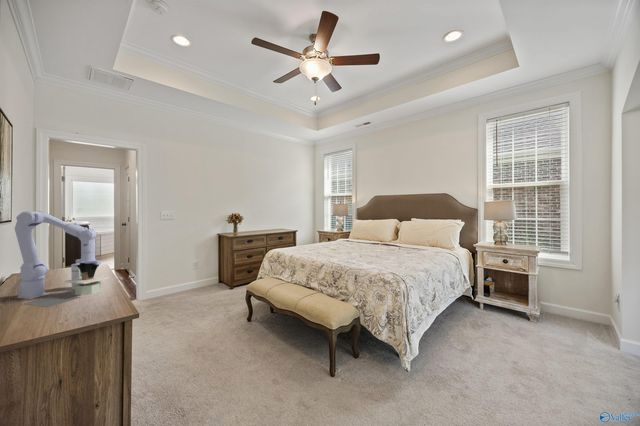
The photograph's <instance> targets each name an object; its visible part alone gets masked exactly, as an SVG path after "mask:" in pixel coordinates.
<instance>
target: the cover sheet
mask: <svg viewBox="0 0 640 426" xmlns="http://www.w3.org/2000/svg"><path fill="white" fill-rule="evenodd" d="M108 279H110V277H109V276H97V275H94V277H91V278H89V277H88V272H85V273H82V278H77V279H72V278H71V279H67V280H64V283H68V284H72V283H79V284H86V283H91V282H95V281H102V280H103V281H104V280H108Z"/></svg>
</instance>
